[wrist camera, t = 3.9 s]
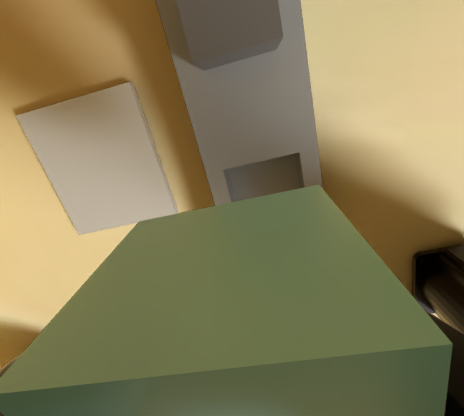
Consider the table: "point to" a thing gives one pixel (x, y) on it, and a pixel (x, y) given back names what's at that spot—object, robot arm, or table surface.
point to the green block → (237, 324)
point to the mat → (100, 159)
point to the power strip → (246, 93)
